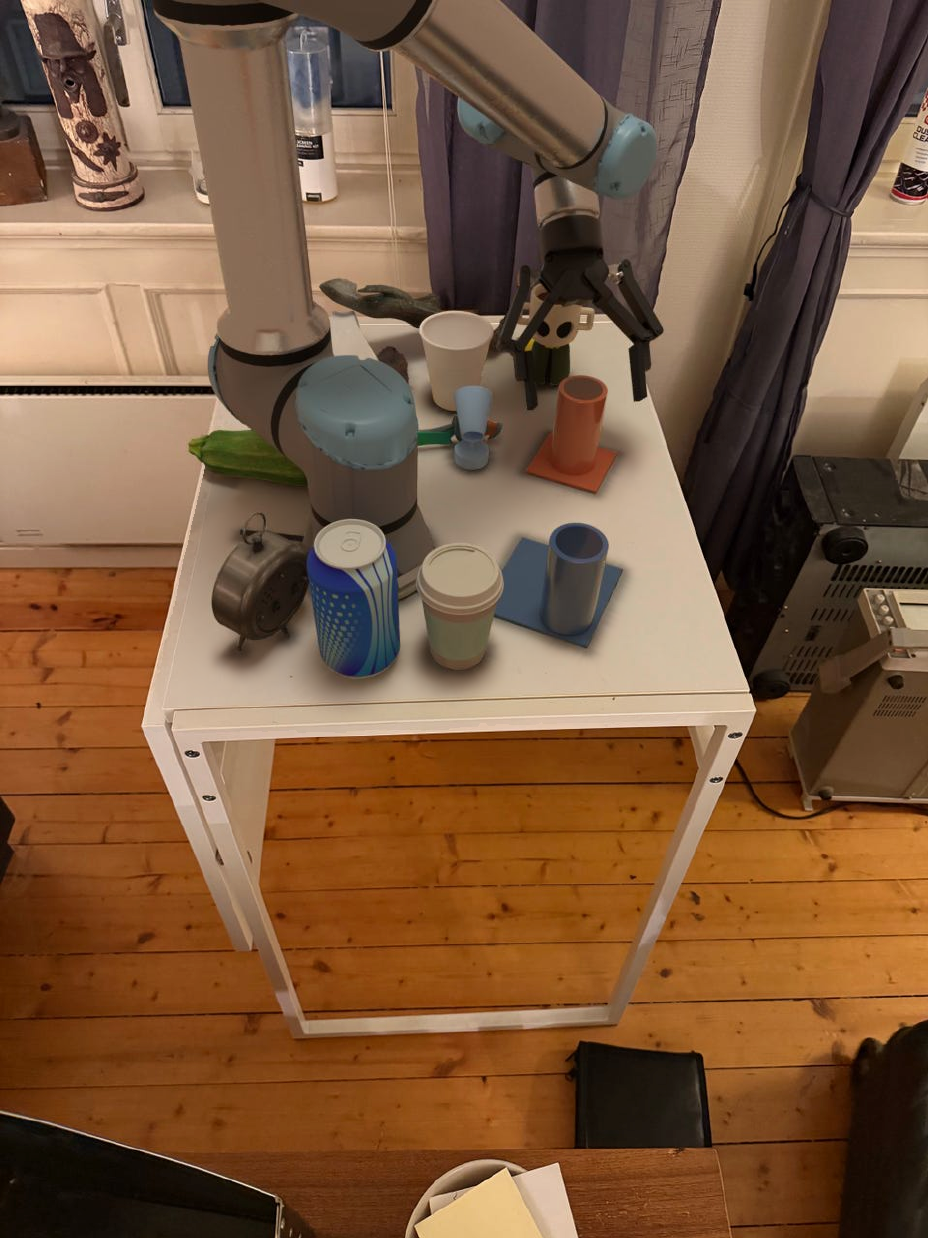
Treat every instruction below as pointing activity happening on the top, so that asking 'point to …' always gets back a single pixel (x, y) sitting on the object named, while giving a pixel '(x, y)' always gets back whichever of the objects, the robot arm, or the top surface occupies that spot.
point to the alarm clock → (260, 585)
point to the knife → (452, 433)
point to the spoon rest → (348, 336)
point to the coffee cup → (459, 602)
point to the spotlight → (472, 426)
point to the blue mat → (526, 591)
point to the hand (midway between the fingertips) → (587, 404)
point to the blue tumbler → (573, 578)
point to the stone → (394, 361)
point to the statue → (388, 303)
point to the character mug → (554, 336)
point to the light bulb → (528, 344)
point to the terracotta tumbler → (578, 424)
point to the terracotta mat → (584, 482)
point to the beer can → (355, 598)
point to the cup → (454, 352)
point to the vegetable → (245, 457)
